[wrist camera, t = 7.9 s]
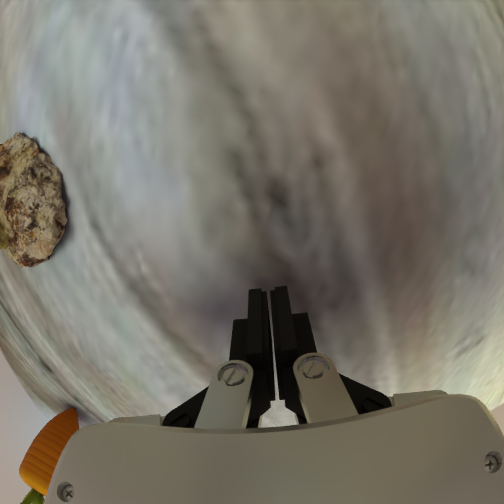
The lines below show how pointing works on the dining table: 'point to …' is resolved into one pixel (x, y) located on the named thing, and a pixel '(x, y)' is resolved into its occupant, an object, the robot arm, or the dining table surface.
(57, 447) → the carrot
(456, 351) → the dining table surface
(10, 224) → the mineral rock
